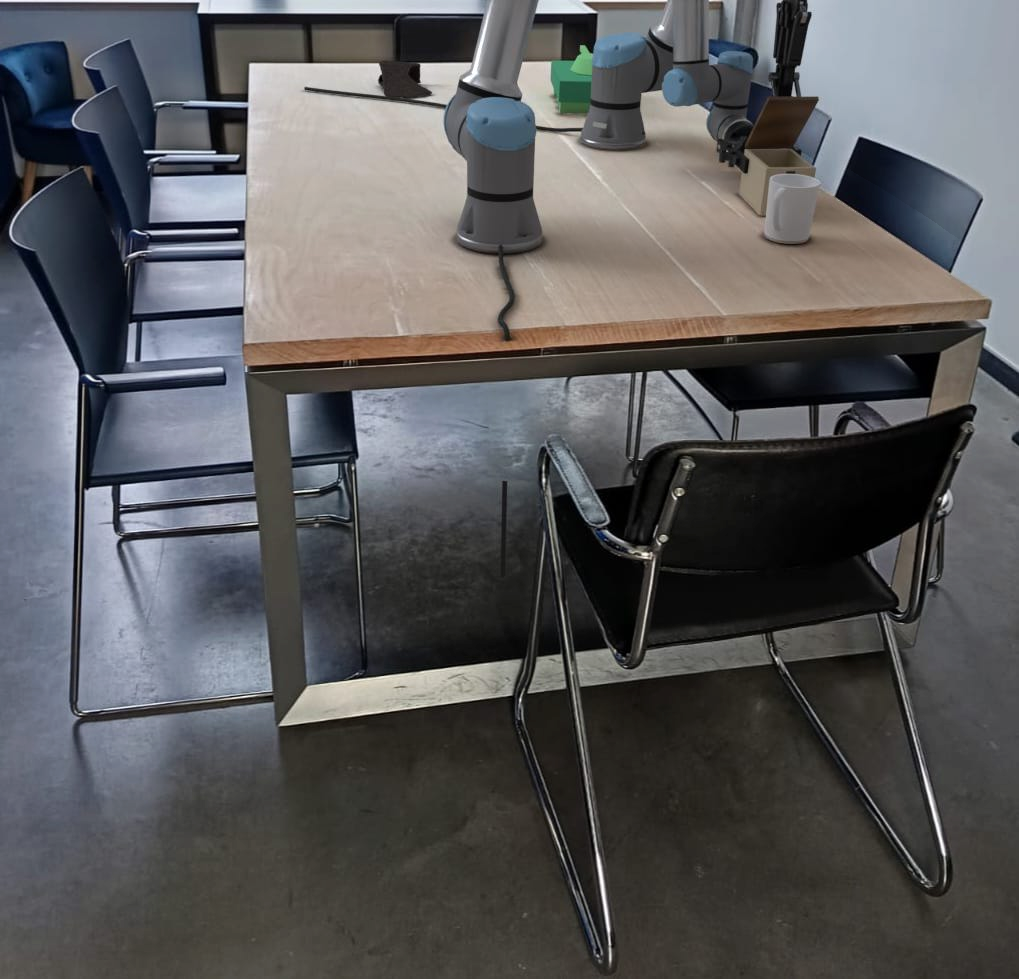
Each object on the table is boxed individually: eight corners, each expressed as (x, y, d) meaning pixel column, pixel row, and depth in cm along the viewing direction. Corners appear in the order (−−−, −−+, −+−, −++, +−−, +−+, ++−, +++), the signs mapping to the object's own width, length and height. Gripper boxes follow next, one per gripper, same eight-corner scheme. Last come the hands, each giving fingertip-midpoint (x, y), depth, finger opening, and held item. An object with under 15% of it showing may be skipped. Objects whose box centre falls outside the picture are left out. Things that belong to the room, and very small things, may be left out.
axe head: (443, 87, 294) (392, 77, 287) (436, 115, 299) (385, 106, 292) (421, 62, 307) (371, 52, 300) (414, 89, 311) (365, 80, 304)
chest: (808, 215, 212) (816, 168, 207) (759, 215, 211) (766, 168, 206) (784, 193, 224) (791, 148, 219) (738, 194, 223) (744, 149, 218)
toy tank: (613, 42, 302) (631, 66, 272) (610, 88, 309) (627, 117, 279) (549, 40, 301) (560, 65, 272) (547, 87, 308) (558, 116, 278)
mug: (775, 225, 205) (784, 170, 200) (819, 236, 201) (829, 180, 195) (747, 240, 198) (754, 183, 193) (791, 251, 193) (801, 193, 188)
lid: (819, 100, 205) (812, 64, 207) (768, 100, 204) (762, 63, 206) (792, 148, 219) (786, 114, 222) (745, 148, 218) (740, 114, 221)
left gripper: (833, -28, 193) (812, 109, 205) (806, -37, 206) (787, 93, 218) (792, -29, 192) (773, 110, 205) (767, -38, 205) (751, 93, 217)
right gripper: (787, 155, 239) (823, 184, 220) (687, 156, 237) (715, 185, 218) (793, 120, 235) (829, 146, 216) (691, 120, 233) (719, 147, 214)
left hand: (781, 101), depth 211 cm, fingers closed on lid, 2 cm apart
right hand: (772, 166), depth 217 cm, fingers closed on chest, 10 cm apart
